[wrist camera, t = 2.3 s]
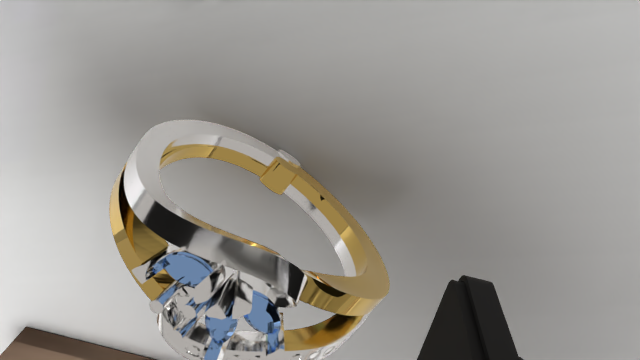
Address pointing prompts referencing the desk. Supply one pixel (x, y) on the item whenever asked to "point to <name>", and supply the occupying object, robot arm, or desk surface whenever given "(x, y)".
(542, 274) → the desk surface
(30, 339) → the jewellery tray
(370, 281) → the ring
